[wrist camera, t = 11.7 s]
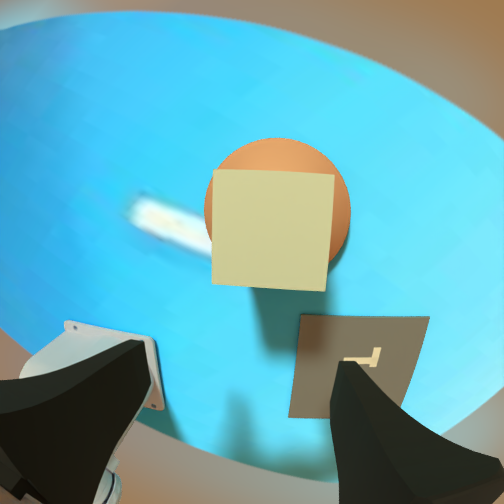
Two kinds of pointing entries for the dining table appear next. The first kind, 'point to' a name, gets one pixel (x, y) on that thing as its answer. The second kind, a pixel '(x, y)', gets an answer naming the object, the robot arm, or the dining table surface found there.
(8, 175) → the dining table surface
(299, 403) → the brown tile
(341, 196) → the orange disc
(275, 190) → the block
